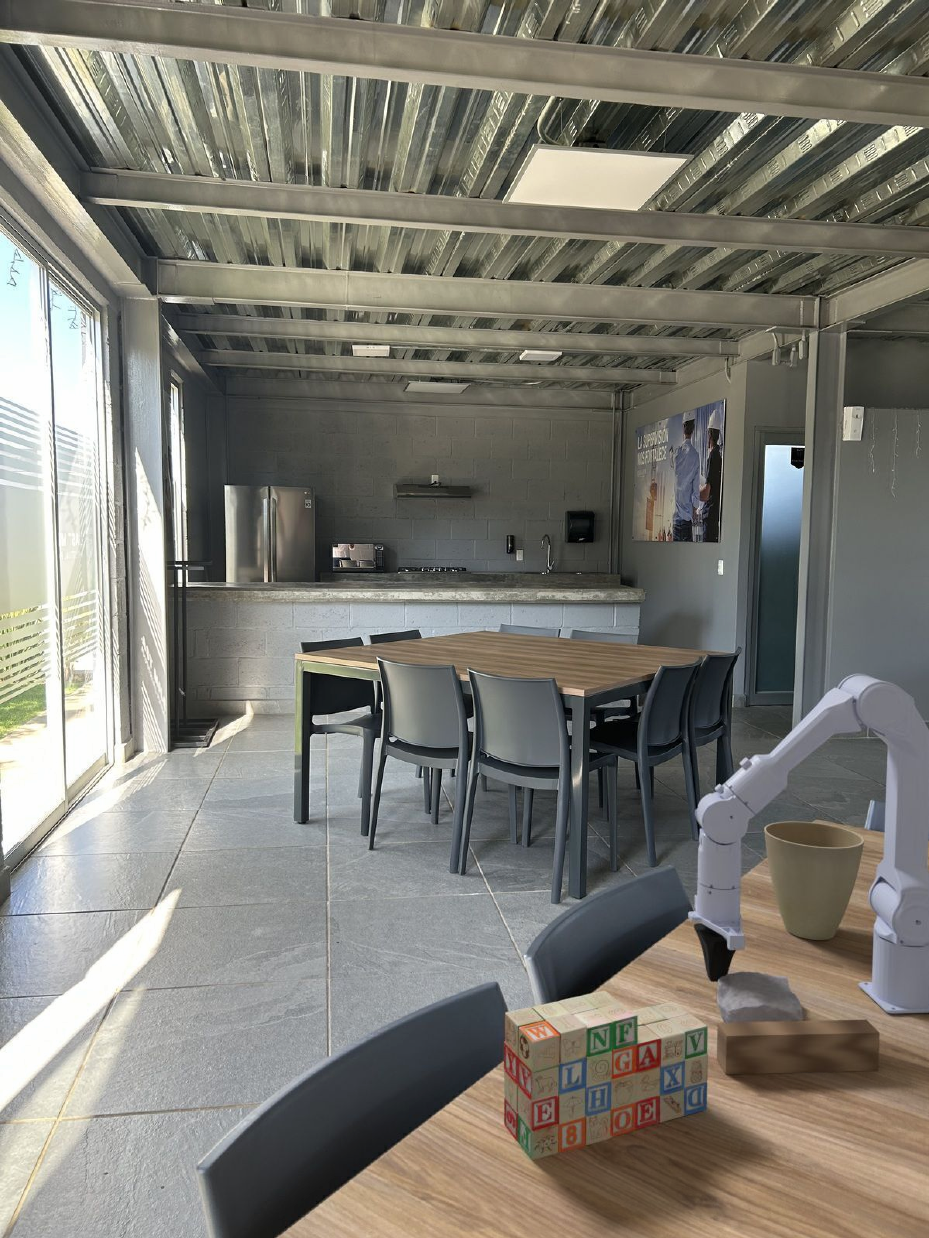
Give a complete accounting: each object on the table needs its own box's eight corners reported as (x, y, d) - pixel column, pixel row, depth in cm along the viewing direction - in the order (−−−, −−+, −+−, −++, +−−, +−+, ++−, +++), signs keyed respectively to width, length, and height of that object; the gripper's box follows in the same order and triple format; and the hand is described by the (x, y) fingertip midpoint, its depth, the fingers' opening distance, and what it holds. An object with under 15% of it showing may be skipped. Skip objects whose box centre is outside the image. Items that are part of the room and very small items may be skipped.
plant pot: (872, 954, 134) (876, 850, 133) (770, 946, 136) (772, 844, 135) (847, 916, 148) (850, 822, 147) (755, 910, 151) (757, 818, 150)
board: (865, 1056, 105) (866, 1019, 105) (878, 1070, 102) (879, 1032, 102) (716, 1059, 104) (717, 1022, 104) (725, 1074, 101) (726, 1035, 101)
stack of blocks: (672, 1080, 100) (674, 973, 100) (708, 1111, 94) (710, 998, 94) (502, 1125, 92) (503, 1009, 91) (530, 1162, 86) (532, 1039, 85)
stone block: (729, 1050, 110) (811, 1040, 109) (722, 1012, 110) (804, 1001, 109) (714, 1007, 122) (788, 997, 120) (707, 972, 122) (781, 962, 120)
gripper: (674, 865, 128) (672, 956, 129) (707, 902, 114) (705, 1005, 114) (722, 864, 128) (720, 956, 129) (761, 901, 114) (758, 1004, 115)
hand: (716, 979), depth 122 cm, fingers closed
